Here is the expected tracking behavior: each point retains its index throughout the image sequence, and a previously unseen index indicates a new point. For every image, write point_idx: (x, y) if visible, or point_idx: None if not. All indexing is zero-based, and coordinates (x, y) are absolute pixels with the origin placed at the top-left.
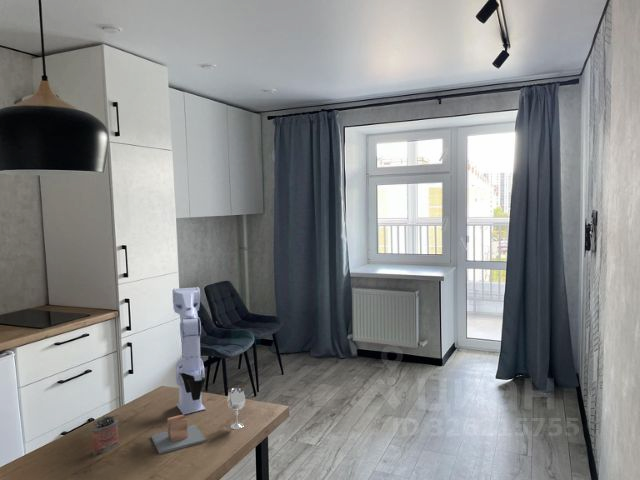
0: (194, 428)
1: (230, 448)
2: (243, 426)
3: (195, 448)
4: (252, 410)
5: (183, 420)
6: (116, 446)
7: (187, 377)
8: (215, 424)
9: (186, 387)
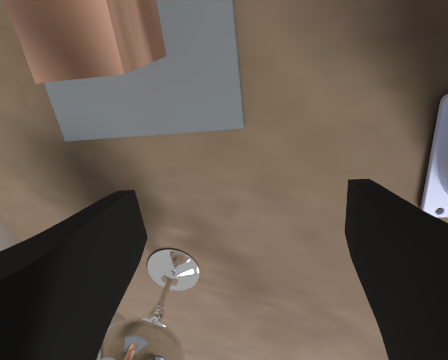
0: (195, 116)
1: (3, 203)
2: (160, 285)
3: (21, 82)
4: (284, 346)
5: (28, 56)
6: None
7: (429, 337)
8: (226, 210)
9: (368, 210)
